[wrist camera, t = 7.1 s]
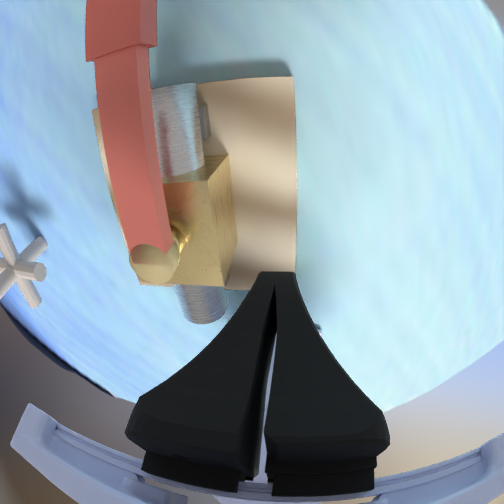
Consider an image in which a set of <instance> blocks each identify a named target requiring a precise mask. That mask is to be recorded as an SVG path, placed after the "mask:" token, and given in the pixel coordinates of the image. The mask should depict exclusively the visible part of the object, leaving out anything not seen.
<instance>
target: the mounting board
mask: <svg viewBox="0 0 504 504" xmlns="http://www.w3.org/2000/svg"><path fill="white" fill-rule="evenodd" d="M196 92H197V101H198V107H200V106H207V105H208V112H209V122H210V131H211V136H210V137H209V138H207V139H206V140H202V144H203V152H204V156H211V155H225V154H229V162H230V172H231V182H232V191H233V201H234V210H235V219H236V228H237V237H238V242H237V245H236V249H235V252H234V255H233V258H232V262H231V265H230V268H229V275H230V276H229V280H228V283H227V286H224V289H227V290H250V289H251V287H252V286H253V284H254V282H255V280H256V278H257V276H258V274H259V273H260V272H261V271H284V272H294V273H295V267H296V227H297V156H296V117H295V92H294V77H258V78H244V79H232V80H223V81H215V82H207V83H200V84H196ZM92 113H93V119H94V125H95V130H96V135H97V140H98V145H99V150H100V155H101V159H102V164H103V168H104V172H105V176H106V180H107V184H108V188H109V191H110V195H111V199H112V202H113V206H114V209H115V213H116V216H117V219H118V222H119V226H120V229H121V232H122V235H123V238H124V241H125V244H126V247H127V250H128V253H130V252H129V249H128V245H127V242H126V239H125V236H124V233H123V230H122V227H121V223H120V220H119V217H118V213H117V210H116V207H115V203H114V200H113V196H112V192H111V189H112V184H111V180H110V175H109V170H108V165H107V160H106V155H105V149H104V143H103V137H102V131H101V124H100V117H99V109H98V108H97V109H94V110H92ZM137 277H138V280H139V282H140V285H153V286H169V287H174V284H165V283H162V284H155V283H149V282H141V281H140V278H139V276H138V275H137Z"/></svg>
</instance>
